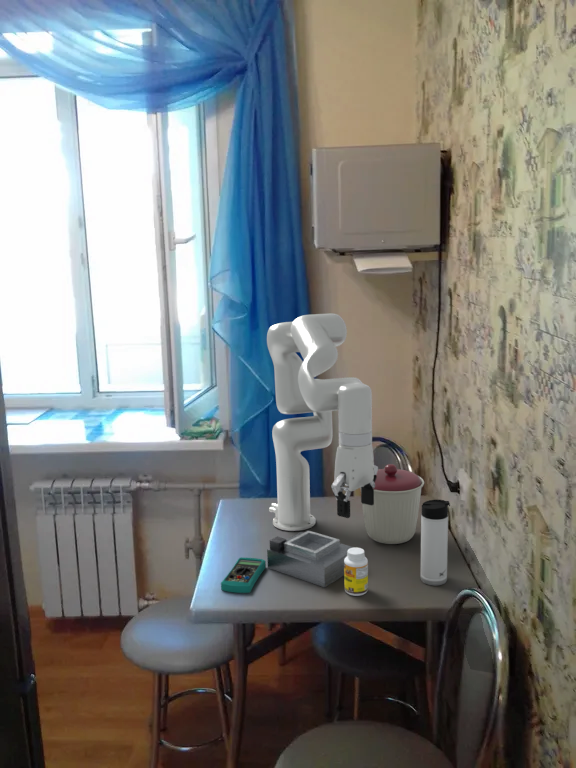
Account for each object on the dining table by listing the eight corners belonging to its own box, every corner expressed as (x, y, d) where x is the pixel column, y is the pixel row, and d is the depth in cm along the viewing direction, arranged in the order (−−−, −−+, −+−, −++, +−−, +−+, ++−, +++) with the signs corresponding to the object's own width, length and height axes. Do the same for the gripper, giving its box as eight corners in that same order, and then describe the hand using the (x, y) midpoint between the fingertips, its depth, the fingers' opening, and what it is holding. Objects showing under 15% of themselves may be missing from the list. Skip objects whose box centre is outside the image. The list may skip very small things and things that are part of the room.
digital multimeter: (219, 593, 169) (219, 581, 168) (239, 566, 183) (238, 555, 182) (249, 596, 167) (248, 584, 167) (266, 568, 181) (266, 557, 181)
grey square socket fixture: (267, 567, 181) (266, 540, 179) (301, 549, 191) (301, 523, 190) (324, 587, 169) (324, 558, 168) (357, 566, 180) (357, 539, 178)
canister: (351, 546, 192) (350, 471, 188) (365, 521, 209) (365, 453, 205) (418, 554, 186) (418, 477, 182) (427, 528, 203) (428, 457, 199)
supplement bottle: (340, 587, 169) (340, 547, 167) (362, 584, 171) (362, 544, 169) (349, 598, 164) (349, 557, 162) (371, 594, 165) (371, 553, 163)
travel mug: (448, 586, 168) (450, 506, 164) (420, 585, 169) (421, 505, 166) (447, 574, 174) (449, 497, 170) (420, 573, 175) (421, 496, 172)
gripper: (362, 428, 169) (362, 496, 172) (319, 444, 156) (320, 518, 159) (389, 432, 164) (389, 502, 167) (347, 449, 151) (348, 525, 154)
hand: (355, 510), depth 163 cm, fingers open, 9 cm apart
